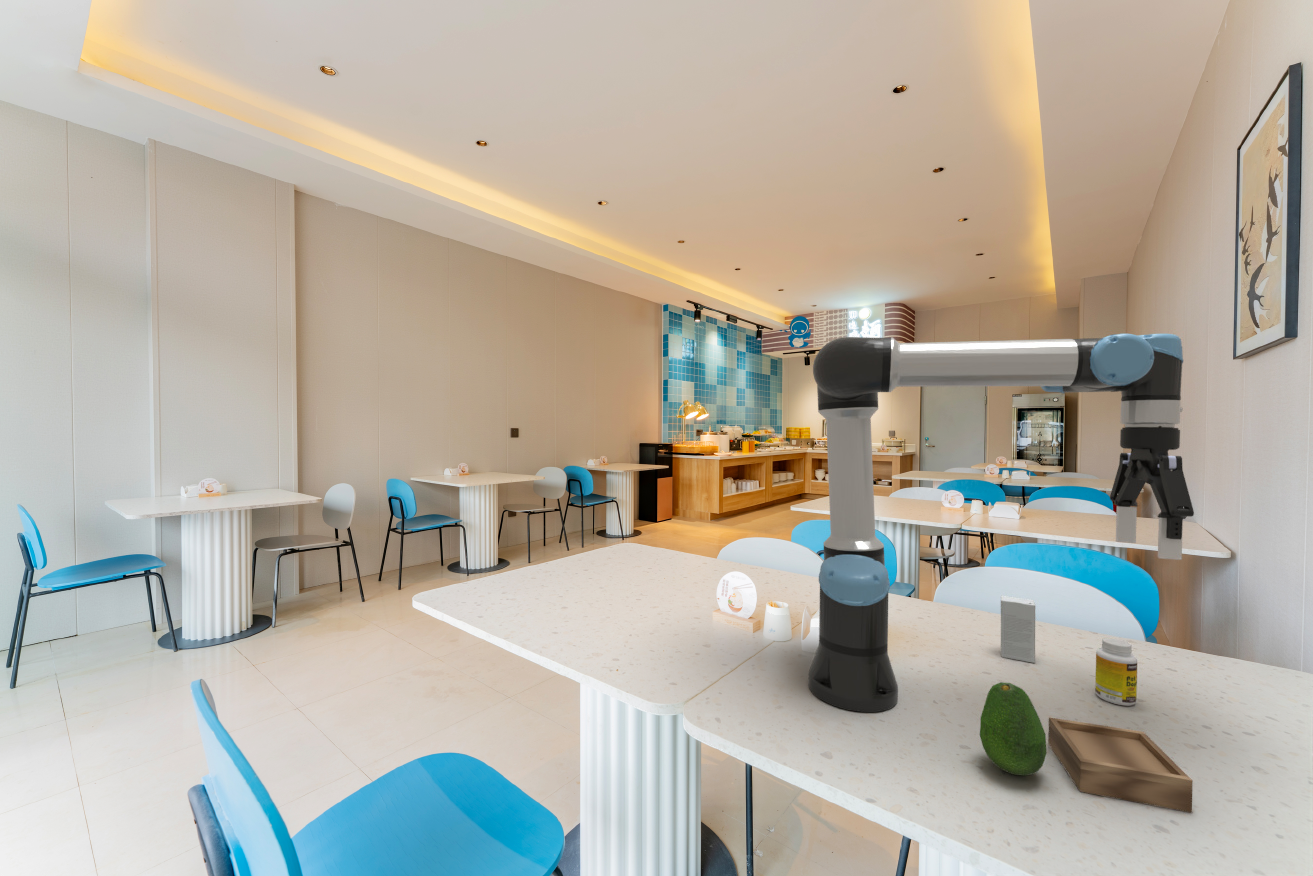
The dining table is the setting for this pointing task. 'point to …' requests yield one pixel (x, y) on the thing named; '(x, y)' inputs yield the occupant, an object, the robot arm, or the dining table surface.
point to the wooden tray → (1119, 764)
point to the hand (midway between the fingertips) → (1146, 550)
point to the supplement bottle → (1116, 672)
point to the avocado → (1012, 730)
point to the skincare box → (1018, 629)
